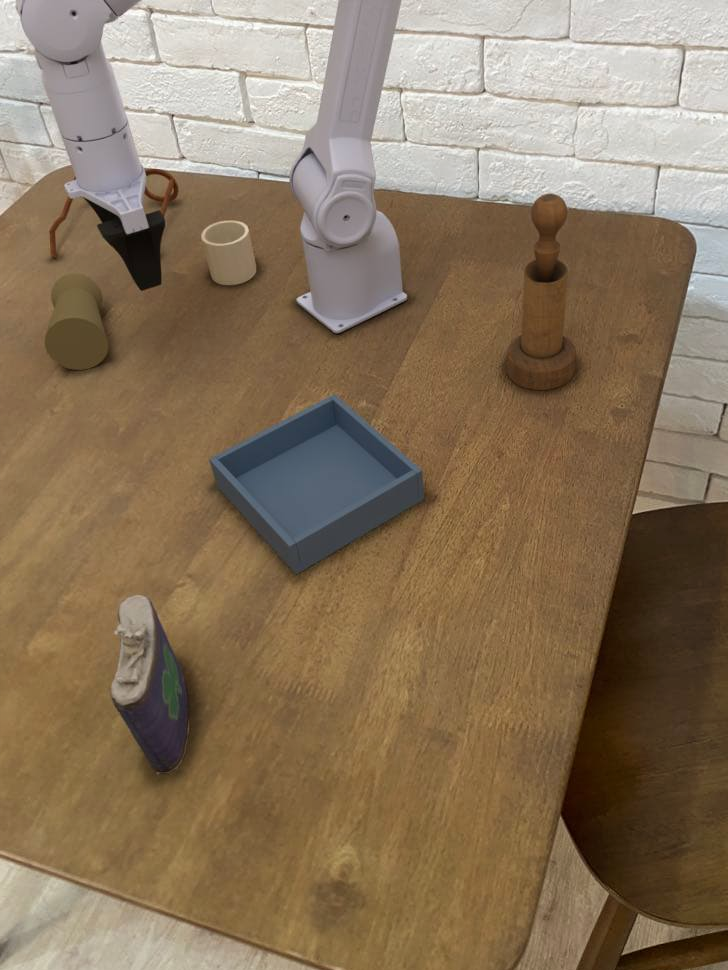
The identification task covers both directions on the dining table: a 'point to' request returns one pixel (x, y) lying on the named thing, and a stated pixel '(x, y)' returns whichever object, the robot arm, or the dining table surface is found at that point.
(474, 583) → the dining table surface
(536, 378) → the mortar and pestle
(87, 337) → the pepper mill
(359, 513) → the tray
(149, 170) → the glasses
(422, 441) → the dining table surface
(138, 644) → the flask
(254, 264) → the cream cup
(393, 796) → the dining table surface
